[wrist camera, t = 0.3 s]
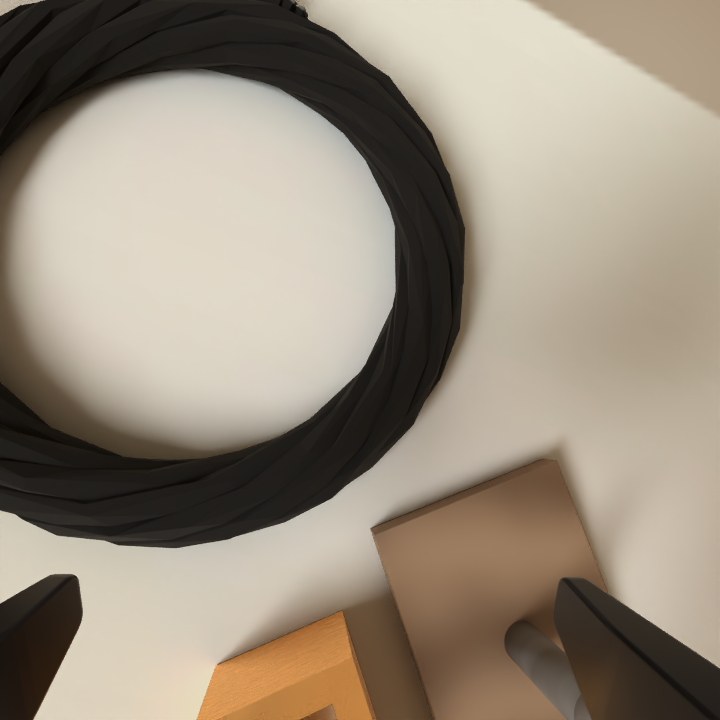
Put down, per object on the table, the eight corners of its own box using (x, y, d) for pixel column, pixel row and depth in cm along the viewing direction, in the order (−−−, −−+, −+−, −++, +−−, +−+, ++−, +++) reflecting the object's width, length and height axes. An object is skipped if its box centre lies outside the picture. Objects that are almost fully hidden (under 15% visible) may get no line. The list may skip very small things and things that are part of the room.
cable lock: (-314, 539, 14) (-75, -147, 19) (-183, 514, 18) (-13, -53, 23) (467, 577, 17) (492, -13, 22) (437, 549, 21) (465, 50, 26)
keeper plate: (646, 727, 21) (821, 881, 14) (469, 829, 19) (569, 1066, 12) (543, 458, 22) (654, 473, 15) (370, 528, 20) (406, 582, 13)
